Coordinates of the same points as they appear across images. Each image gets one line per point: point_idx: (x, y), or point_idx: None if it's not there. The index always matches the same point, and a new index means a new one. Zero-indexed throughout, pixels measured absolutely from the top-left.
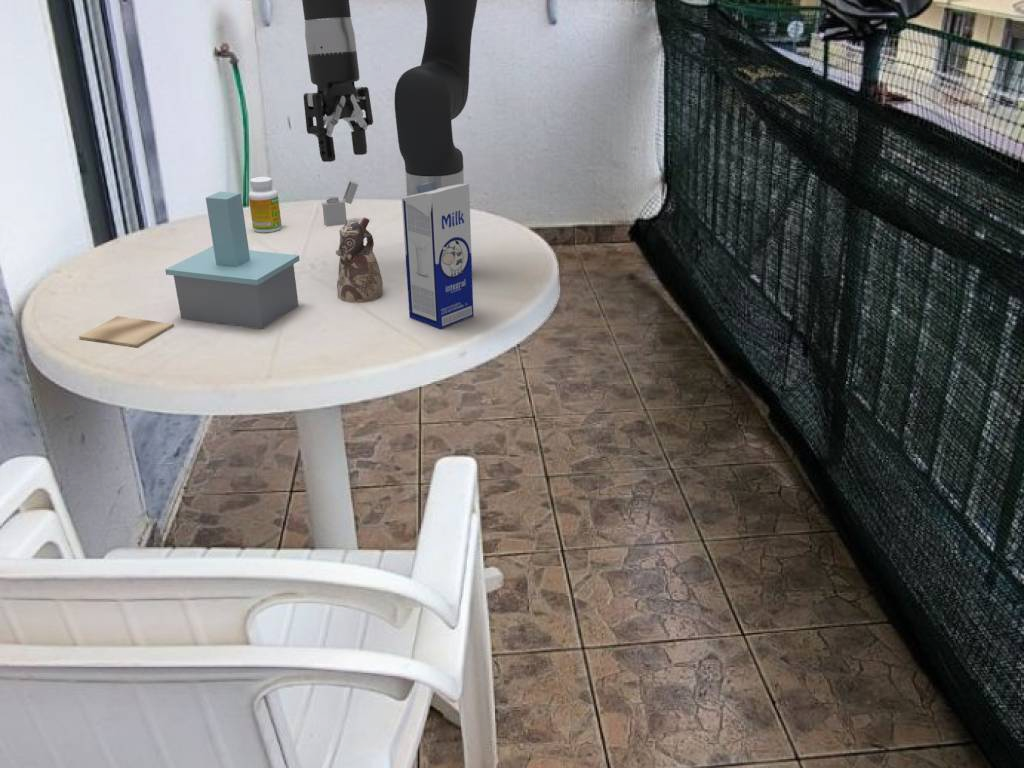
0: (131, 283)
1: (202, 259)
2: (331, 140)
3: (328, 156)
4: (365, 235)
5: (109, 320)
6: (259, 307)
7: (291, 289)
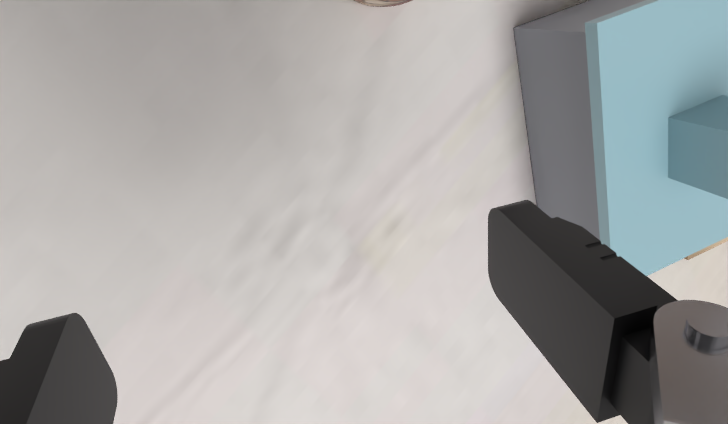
0: (556, 398)
1: (695, 217)
2: (617, 287)
3: (563, 223)
4: None
5: (704, 251)
6: None
7: (566, 21)
